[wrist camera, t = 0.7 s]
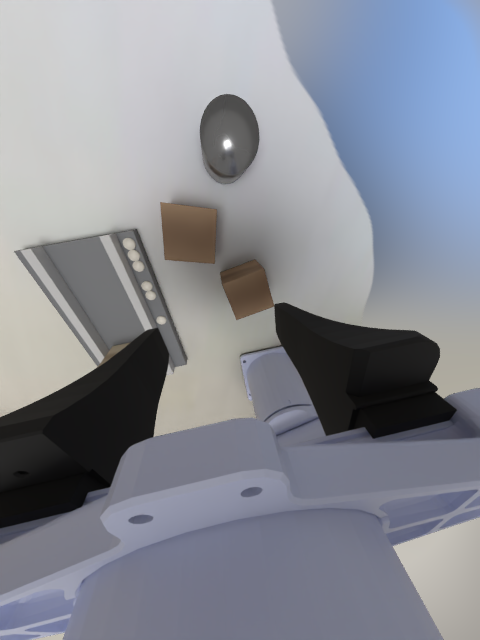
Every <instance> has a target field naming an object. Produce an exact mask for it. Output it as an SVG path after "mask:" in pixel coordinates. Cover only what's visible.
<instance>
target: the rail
mask: <svg viewBox="0 0 480 640" xmlns="http://www.w3.org/2000/svg"><path fill="white" fill-rule="evenodd" d="M14 252H15V253H16V255H17V256H18V258H19V259H20V260H21V262H22V263H23V264H24V266H25V267H26V269H27V270H28V271H29V273H30V274H31V275H32V277H33V278H34V280H35V281H36V282H37V284H38V285H39V286H40V288H41V289H42V291H43V292H44V293H45V295H46V296H47V297H48V299H49V300H50V302H51V303H52V304H53V306H54V307H55V308H56V310H57V311H58V313H59V314H60V315H61V317H62V318H63V319H64V321H65V322H66V324H67V325H68V326H69V328H70V329H71V330H72V332H73V333H74V335H75V336H76V337H77V339H78V340H79V341H80V343H81V344H82V346H83V347H84V348H85V350H86V351H87V352H88V354H89V355H90V357H91V358H92V359H93V361H94V362H95V364H96V365H97V366H99V364H100V363H101V362H102V360H103V359H104V357H105V356H106V355H107V353H108V352H109V351H110V349H111V348H112V346H116V345H121V344H125V343H130V342H132V341H133V340H134V339H136V338H137V337H138V336H139V335H141V334H142V333H143V332H145V331H146V330H149V329H154V328H158V329H159V331H160V333H161V336H162V338H163V340H164V342H165V345H166V347H167V349H168V352H169V363H168V370H167V375H170V374H173V373H174V369H175V367H177V366H182V365H186V364H187V358H186V355H185V353H184V350H183V348H182V345H181V342H180V340H179V337H178V335H177V332H176V330H175V327H174V324H173V322H172V319H171V317H170V314H169V312H168V309H167V307H166V304H165V301H164V299H163V296H162V294H161V291H160V289H159V286H158V283H157V281H156V278H155V276H154V273H153V271H152V268H151V266H150V263H149V260H148V258H147V255H146V253H145V250H144V248H143V245H142V242H141V240H140V237H139V235H138V232H137V230H130V231H124V232H119V233H113V234H108V235H102V236H96V237H91V238H85V239H79V240H74V241H68V242H63V243H57V244H51V245H46V246H40V247H34V248H29V249H23V250H18V251H14Z"/></svg>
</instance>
